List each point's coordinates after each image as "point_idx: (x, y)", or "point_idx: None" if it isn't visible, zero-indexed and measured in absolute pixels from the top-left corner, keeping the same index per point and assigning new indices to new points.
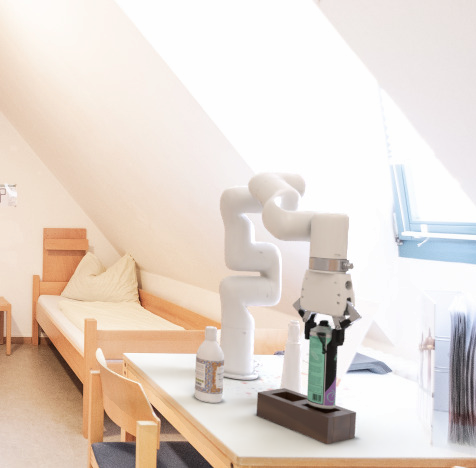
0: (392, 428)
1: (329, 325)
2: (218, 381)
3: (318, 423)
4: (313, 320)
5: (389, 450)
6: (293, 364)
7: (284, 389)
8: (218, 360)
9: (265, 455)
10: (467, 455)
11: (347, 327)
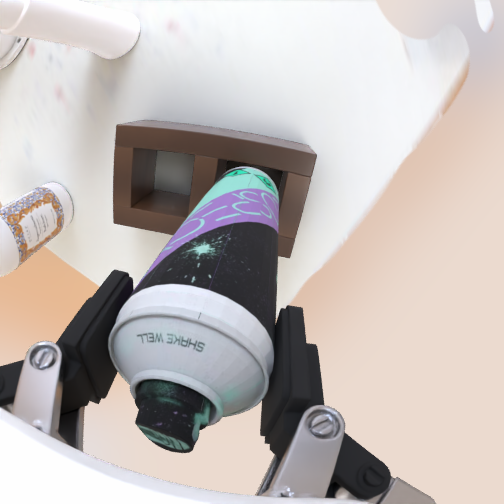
0: (333, 15)
1: (206, 413)
2: (47, 229)
3: None
4: (76, 384)
5: (372, 160)
6: (68, 32)
7: (123, 136)
8: (17, 254)
9: None
10: (453, 73)
11: (341, 421)
